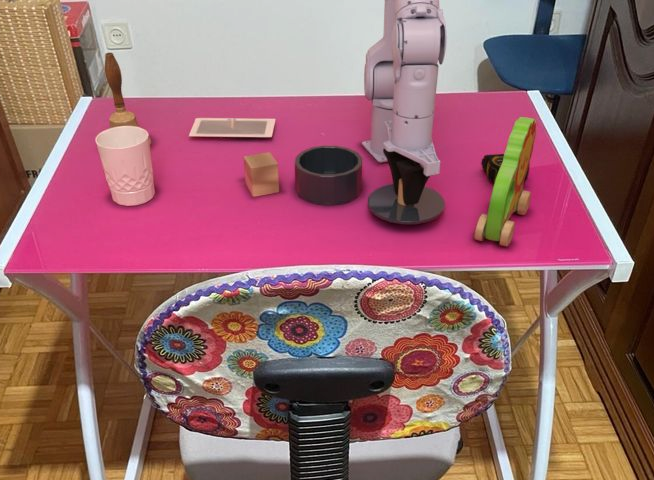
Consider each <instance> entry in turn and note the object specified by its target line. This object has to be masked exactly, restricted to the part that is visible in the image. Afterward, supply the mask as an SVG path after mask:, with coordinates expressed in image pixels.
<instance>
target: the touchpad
mask: <svg viewBox="0 0 654 480" xmlns="http://www.w3.org/2000/svg"><path fill="white" fill-rule="evenodd" d="M275 124H276V118H247V117H246V118H241V117H239V118H237V117H233V118H232V117H231V118H230V117H229V118H228V117H195V120H194V121H193V125H192V127H191V129H190V132H189V134H188V137H211V138H212V137H213V138H214V137H215V138H217V137H219V138H223V137H224V138H225V137H227V138H272V137H273V134H274V129H275Z"/></svg>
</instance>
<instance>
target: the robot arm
mask: <svg viewBox="0 0 654 480" xmlns="http://www.w3.org/2000/svg"><path fill="white" fill-rule="evenodd" d="M383 9H384V10H383V36H382V37H381V39H379V40H378V41H377V42H375V43H374V44H373V45H372V46H370V47H369V48H368V50H367V52H366V53H365V63H364V73H363V87H364V88H363V89H364V91H363V92H364V97H365V99H367V101H371V113H370V114H371V115H370V117H371V118H370V119H371V120H370V139H369V140H364V141H362V142H361V146H362V147H363V148H364V149H365V150H366V151H367V152H368V153H369V154H370V155H371V156H372V158H374V160H375V161H376V162H377V163H379V164H382V163H388V166H389V170H390V174H391V179H392V180H391V181H392V184H393V185H394V190H395V194H396V195H397V196H398V187H399V180H400V179H402V187H403V201H404V204H405V205H412V204H417V203H418V202H419V200H420V197H421V194H422V192H423V189H424V187H425V186H426V184H427V182H428V180H429V179H430V178H431V176H437V175H440V172H441V162H442V161H441V160H440V159H439V158H438V156H437V153H436V148H435V145H434V141H433V128H434V118H435V107H436V96H437V87H438V86H437V85H438V79H439V78H438V77H439V68H440V67H439V65H440V66H442V64H443V63H444V60H445V56H446V52H447V51H446V50H447V39H448V37H447V25H446V19H445V16H444V11H443V9H442V8H440V0H384V7H383Z"/></svg>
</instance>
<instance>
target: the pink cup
mask: <svg viewBox="0 0 654 480" xmlns="http://www.w3.org/2000/svg"><path fill="white" fill-rule="evenodd" d="M149 135H150V134H149V131H147V130H146V129H144V128H143V127H140V126H139V127H135V126H119V127H114V128H110V127H109V128H107V129H104V130H103V131H101V132H99V133H98V134H97V135H96V136H95V145H96V148H97V151H98V155H99V156H98V157H99V160H100V163H101V166H102V169H103V173H104V177H105V179H106V184H107V186H108V188H109V191H110V194H111V198H112V200H113V202H115V204H117V205H120V206H126V207H129V206H130V207H133V206H134V207H135V206H140V205H143V204H146V203H148V202H149V201H151V200H152V199H153V198H154V197H155V194H156V190H155V189H156V188H155V183H154V169H153V168H154V167H153V160H152V159H153V158H152V149H151V145H150V143H149V138H150V136H149Z"/></svg>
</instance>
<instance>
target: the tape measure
mask: <svg viewBox="0 0 654 480" xmlns="http://www.w3.org/2000/svg"><path fill="white" fill-rule="evenodd" d="M503 158H504V153H495V154H486V155H484V156H483V157H482V158H481V163H480V165H481V167H482V172H483V173H484V174H486V177H487V179H488V180H489V181H490V182H491V183H495V180H496V177H497V174H498V171H499V169H500V167H501V165H502V162H503ZM530 164H531V163H529V167H528V171H527V173H526V175H525V179H524V183H525V182H526V181H527V179H528V177H529V174H530V166H531V165H530Z"/></svg>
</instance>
